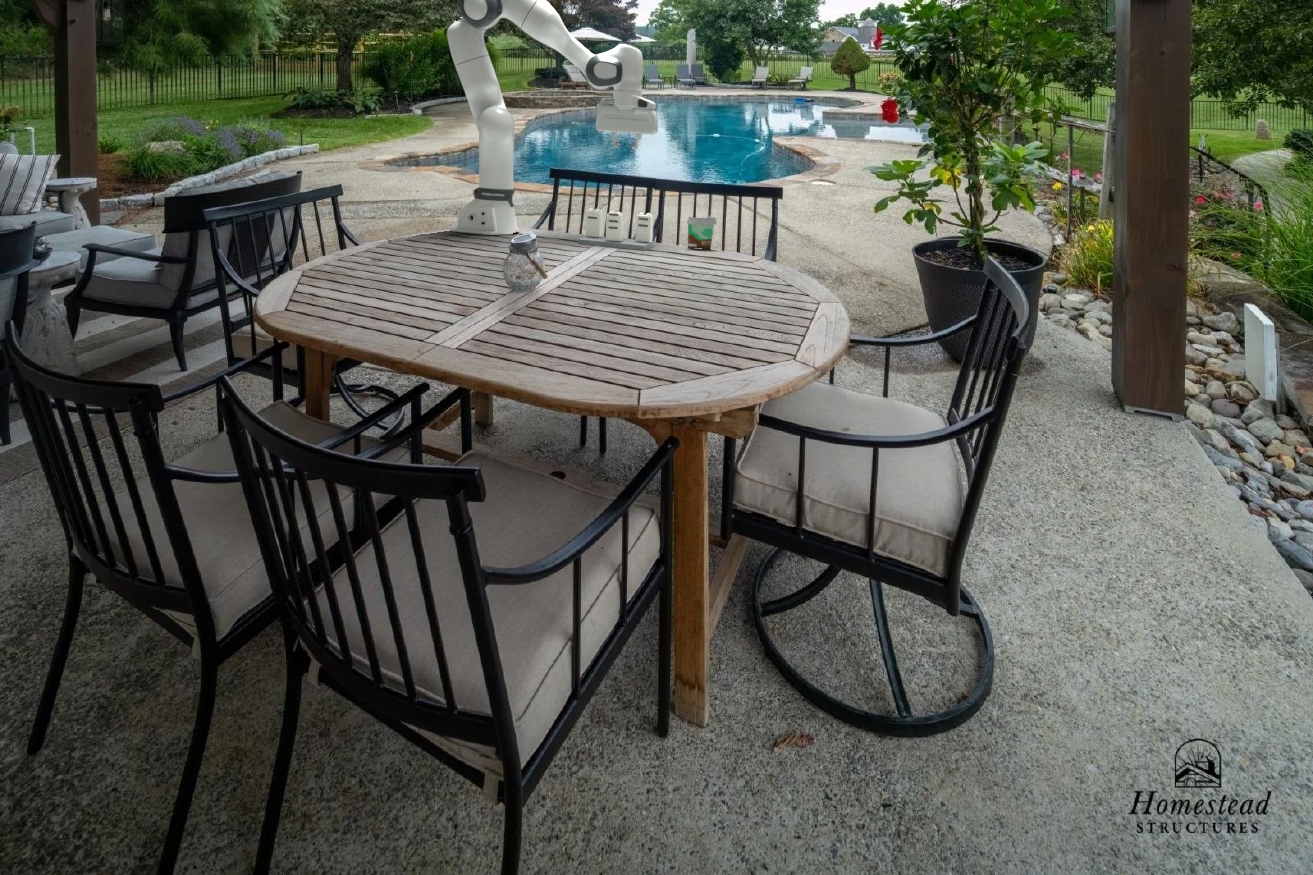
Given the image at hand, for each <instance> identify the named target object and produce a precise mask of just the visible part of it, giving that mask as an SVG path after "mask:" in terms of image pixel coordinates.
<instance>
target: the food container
mask: <svg viewBox="0 0 1313 875" xmlns="http://www.w3.org/2000/svg"><path fill="white" fill-rule="evenodd" d="M686 223H687V224H688V225H687V249H688V248H692V249H691V250H695V249H694V248H702V249H708V250H711V248H712V242H713V235H714V229H715V225H717V219H716V217H715V216H713V215H707V217H693V216H692V217H691V216H688V217H687V222H686Z"/></svg>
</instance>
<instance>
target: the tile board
mask: <svg viewBox="0 0 1313 875" xmlns="http://www.w3.org/2000/svg"><path fill="white" fill-rule="evenodd" d="M577 245H584V246H595V247H605V248H612V249H615V248H616V249H623V250H624V249H625V250H632V251H633V250H634V251H643V252H644V251H647V250H649V249H652V248H653V247H655V241H653V240H652V242H640V241H635V239H632V238H624V237H623V241H610V240H606V236H604V235H602V237H589V236H584V237H580V238H578V239H577Z"/></svg>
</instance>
